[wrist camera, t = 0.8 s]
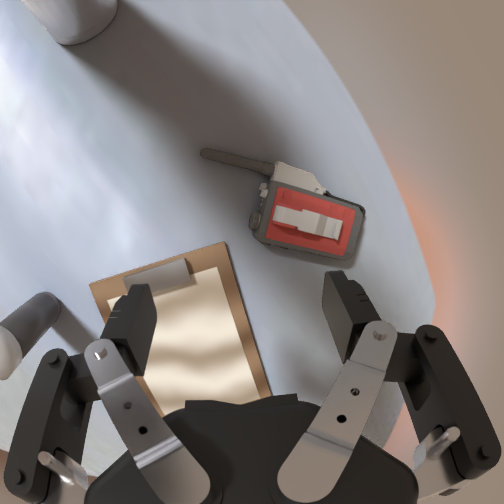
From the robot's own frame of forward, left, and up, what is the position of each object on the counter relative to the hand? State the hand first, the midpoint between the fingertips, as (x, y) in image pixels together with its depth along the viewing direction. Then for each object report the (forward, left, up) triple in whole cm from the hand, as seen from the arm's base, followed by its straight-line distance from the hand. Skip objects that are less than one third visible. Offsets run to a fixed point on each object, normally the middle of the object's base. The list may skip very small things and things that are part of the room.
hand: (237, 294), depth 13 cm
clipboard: (+12, -7, -19) cm, 24 cm away
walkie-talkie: (-1, +9, -20) cm, 22 cm away
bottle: (+2, -22, -19) cm, 29 cm away
